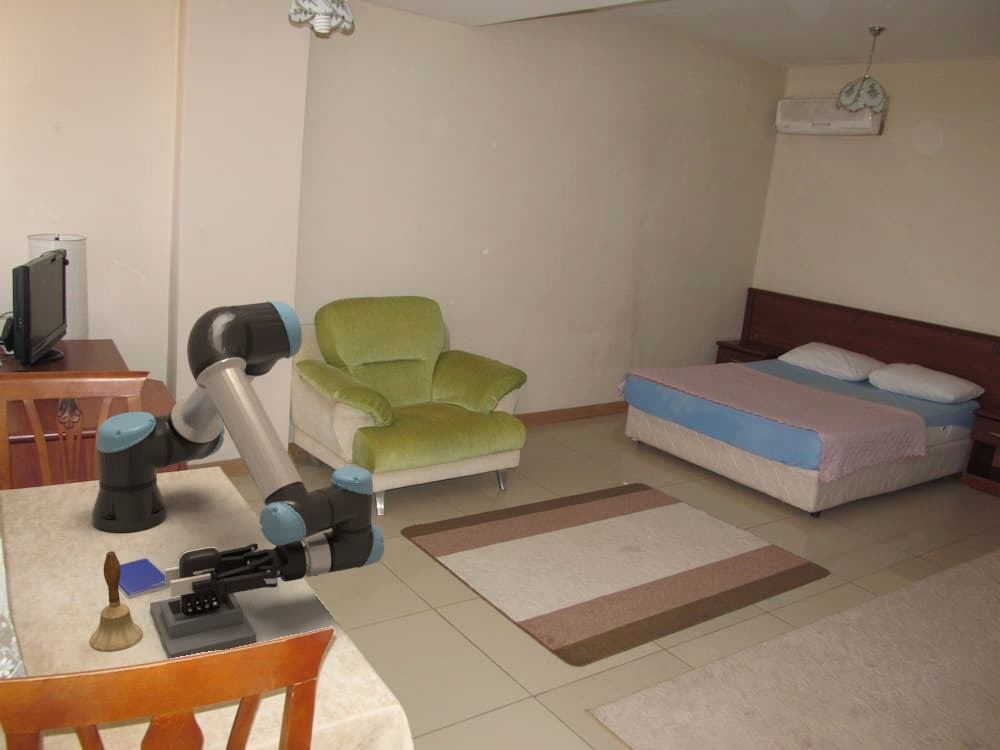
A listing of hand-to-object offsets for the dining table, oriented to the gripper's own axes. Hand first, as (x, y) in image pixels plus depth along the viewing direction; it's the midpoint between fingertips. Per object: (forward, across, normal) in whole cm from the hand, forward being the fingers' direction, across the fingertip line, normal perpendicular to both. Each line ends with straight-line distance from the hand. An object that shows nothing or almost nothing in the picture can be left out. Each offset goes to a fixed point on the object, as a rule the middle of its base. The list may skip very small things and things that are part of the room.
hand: (168, 582), depth 144 cm
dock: (-5, 0, -10) cm, 11 cm away
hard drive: (+2, +22, -10) cm, 24 cm away
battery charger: (-5, 0, -7) cm, 9 cm away
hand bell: (+8, +2, -10) cm, 13 cm away
